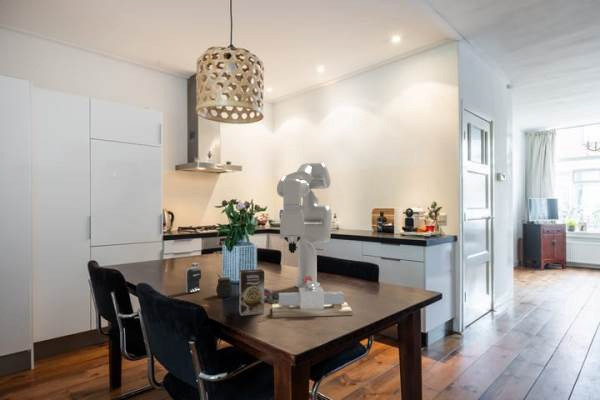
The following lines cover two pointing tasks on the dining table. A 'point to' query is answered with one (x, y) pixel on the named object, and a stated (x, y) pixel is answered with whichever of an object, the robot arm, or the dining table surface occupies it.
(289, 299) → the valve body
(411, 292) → the dining table surface
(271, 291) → the walkie-talkie
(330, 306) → the valve board
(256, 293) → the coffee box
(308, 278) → the lever
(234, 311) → the dining table surface
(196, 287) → the battery charger
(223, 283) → the mate gourd
